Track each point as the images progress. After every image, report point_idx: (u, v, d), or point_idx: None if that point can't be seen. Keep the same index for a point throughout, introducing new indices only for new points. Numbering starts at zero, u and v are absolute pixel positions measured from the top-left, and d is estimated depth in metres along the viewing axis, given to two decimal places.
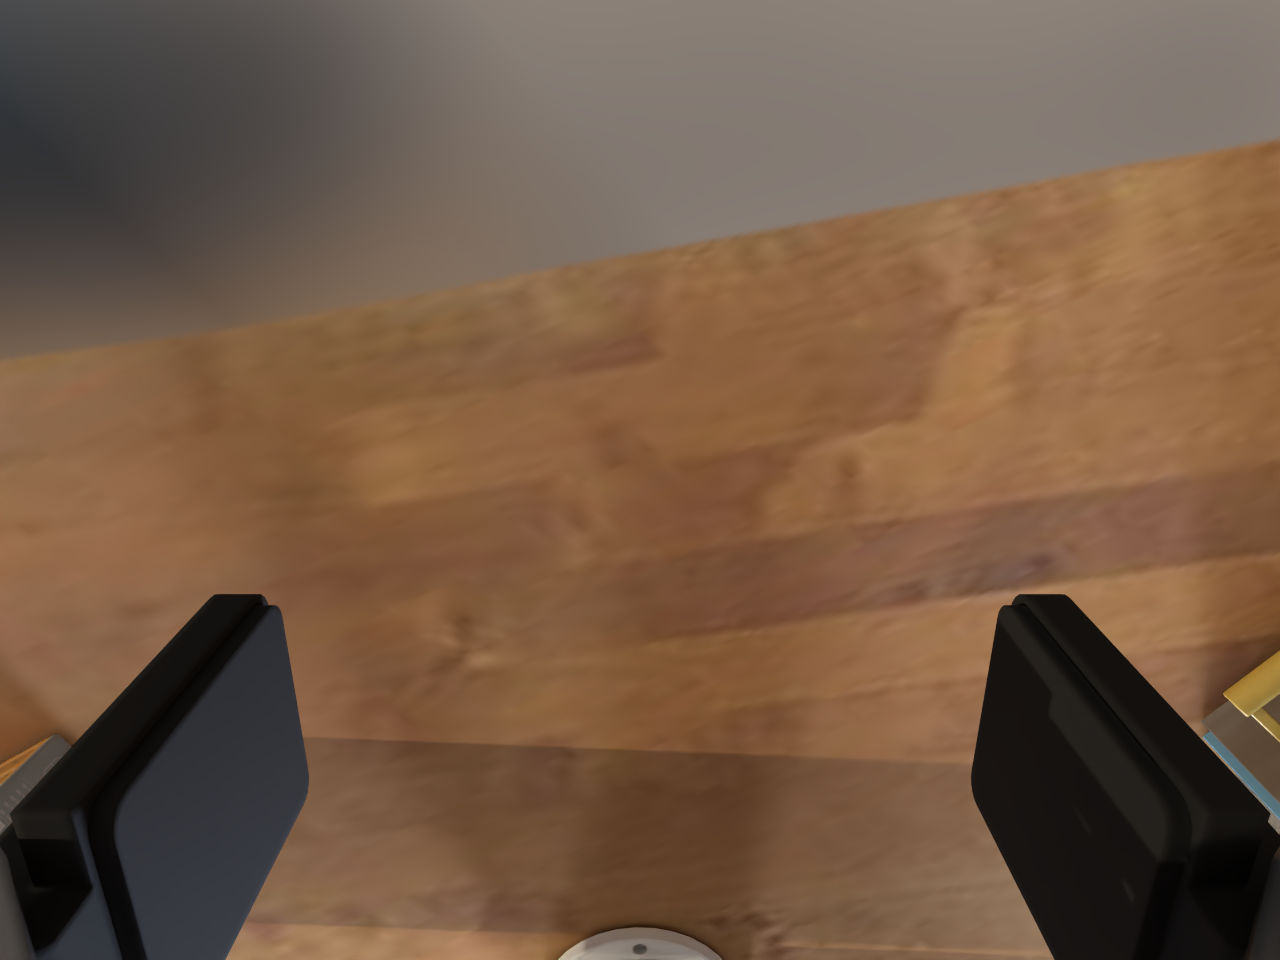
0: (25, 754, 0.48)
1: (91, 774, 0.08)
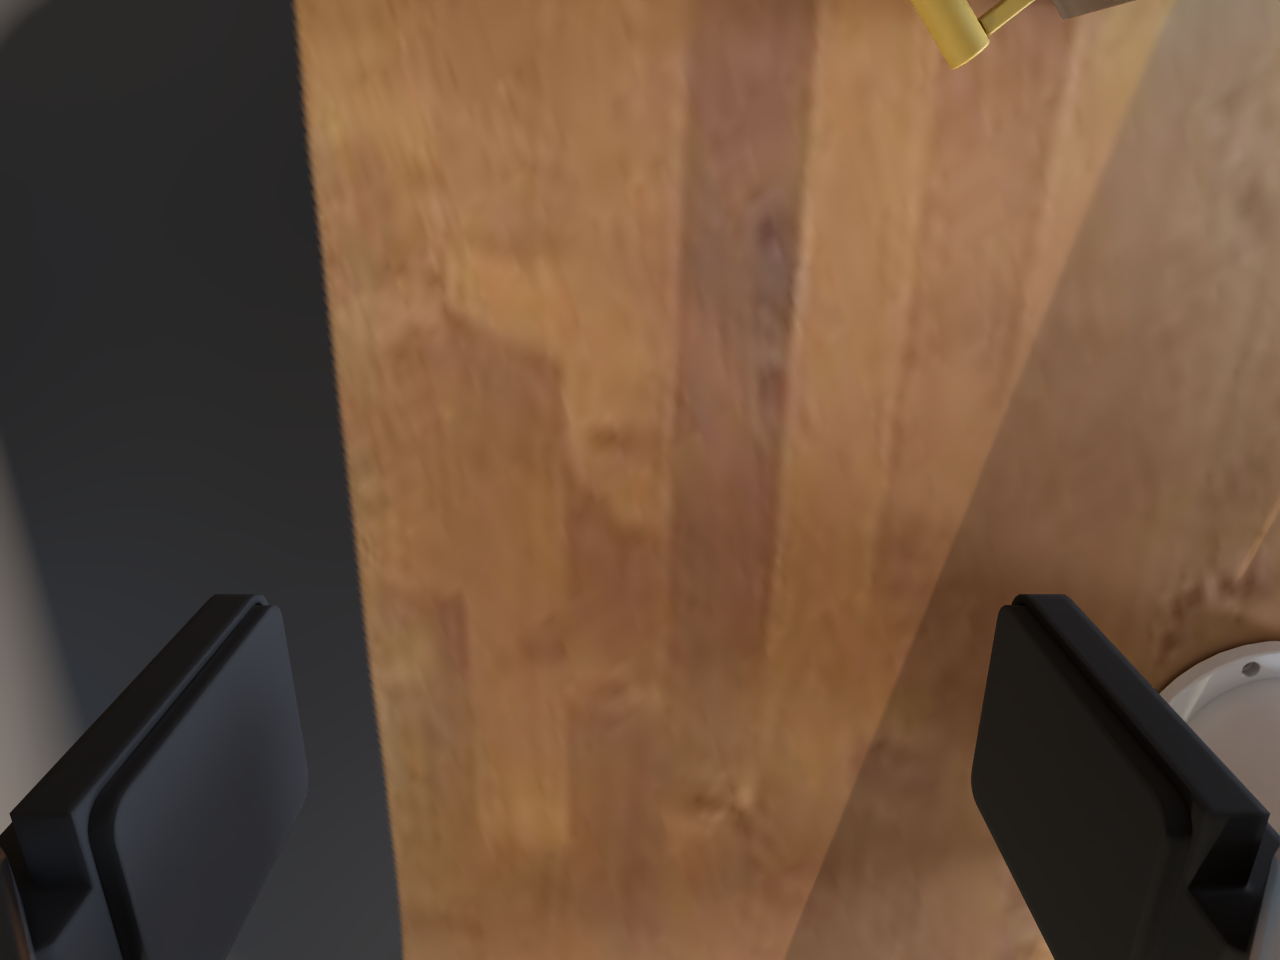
0: None
1: (92, 775, 0.08)
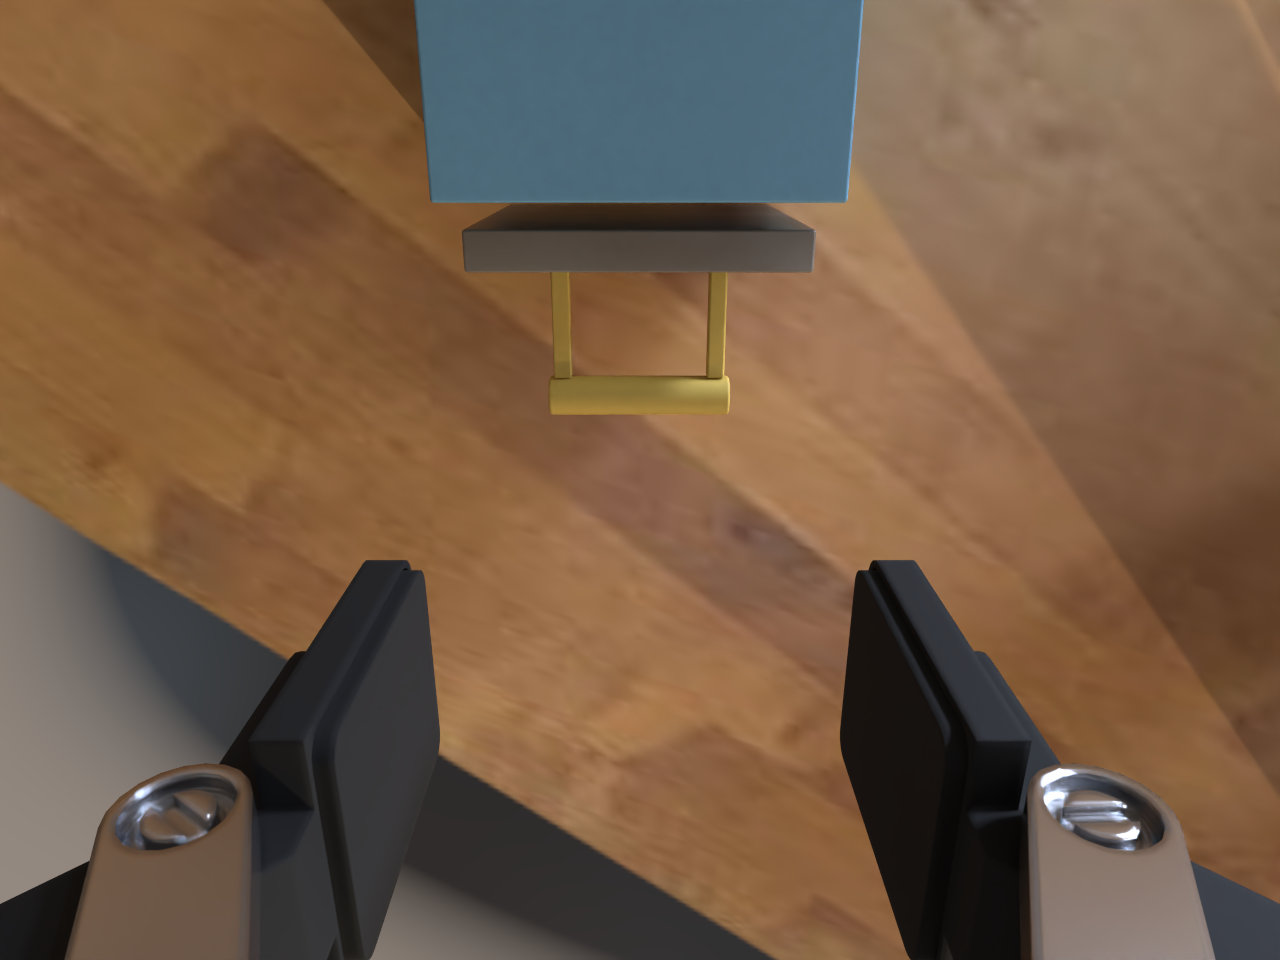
0: None
1: (309, 710, 0.09)
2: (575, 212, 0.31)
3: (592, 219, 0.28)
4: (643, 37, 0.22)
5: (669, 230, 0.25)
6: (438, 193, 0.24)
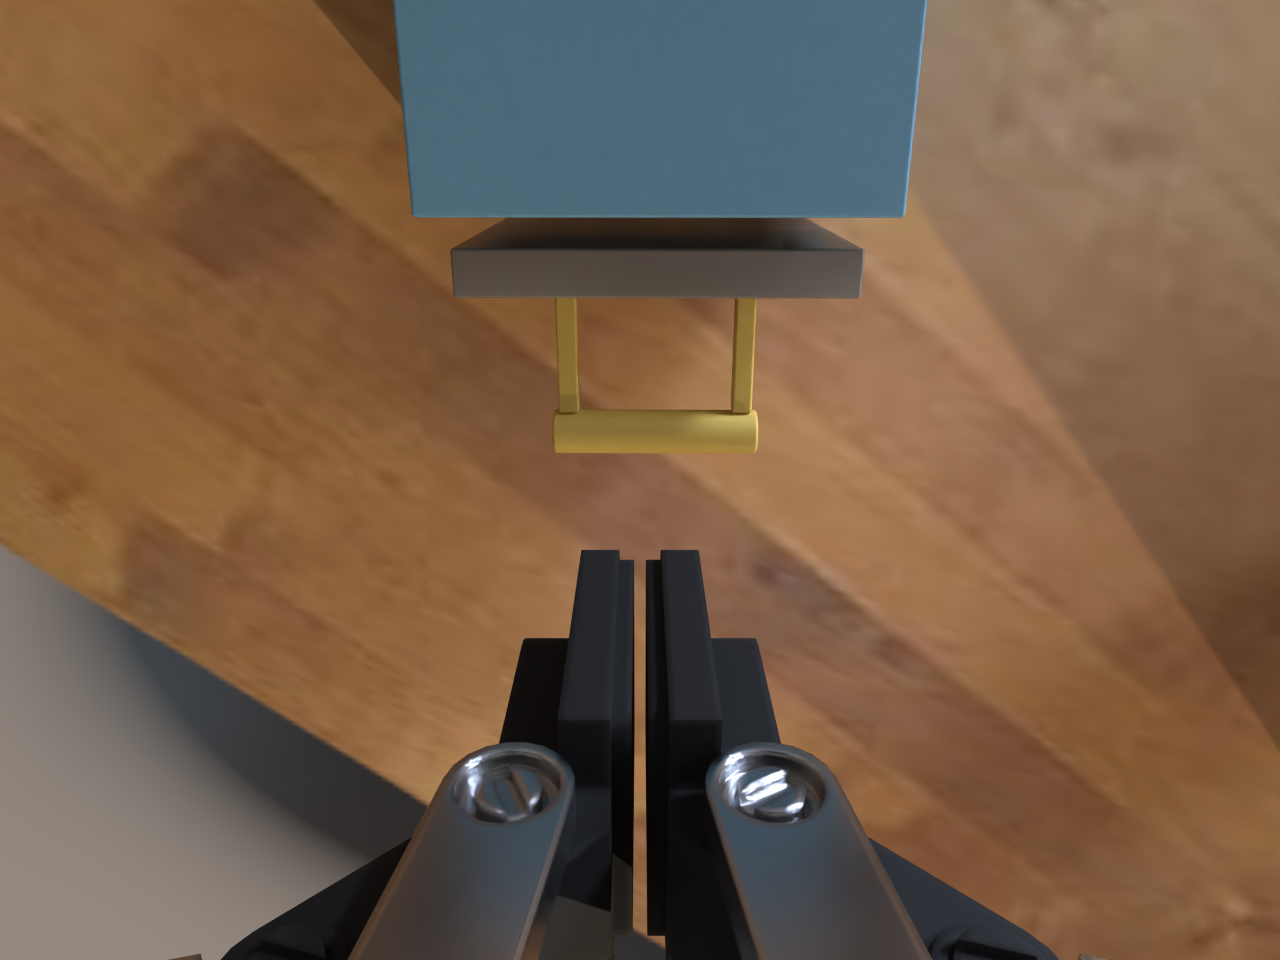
0: None
1: (601, 691, 0.09)
2: (583, 225, 0.27)
3: (602, 234, 0.24)
4: (664, 21, 0.19)
5: (693, 249, 0.21)
6: (421, 206, 0.20)
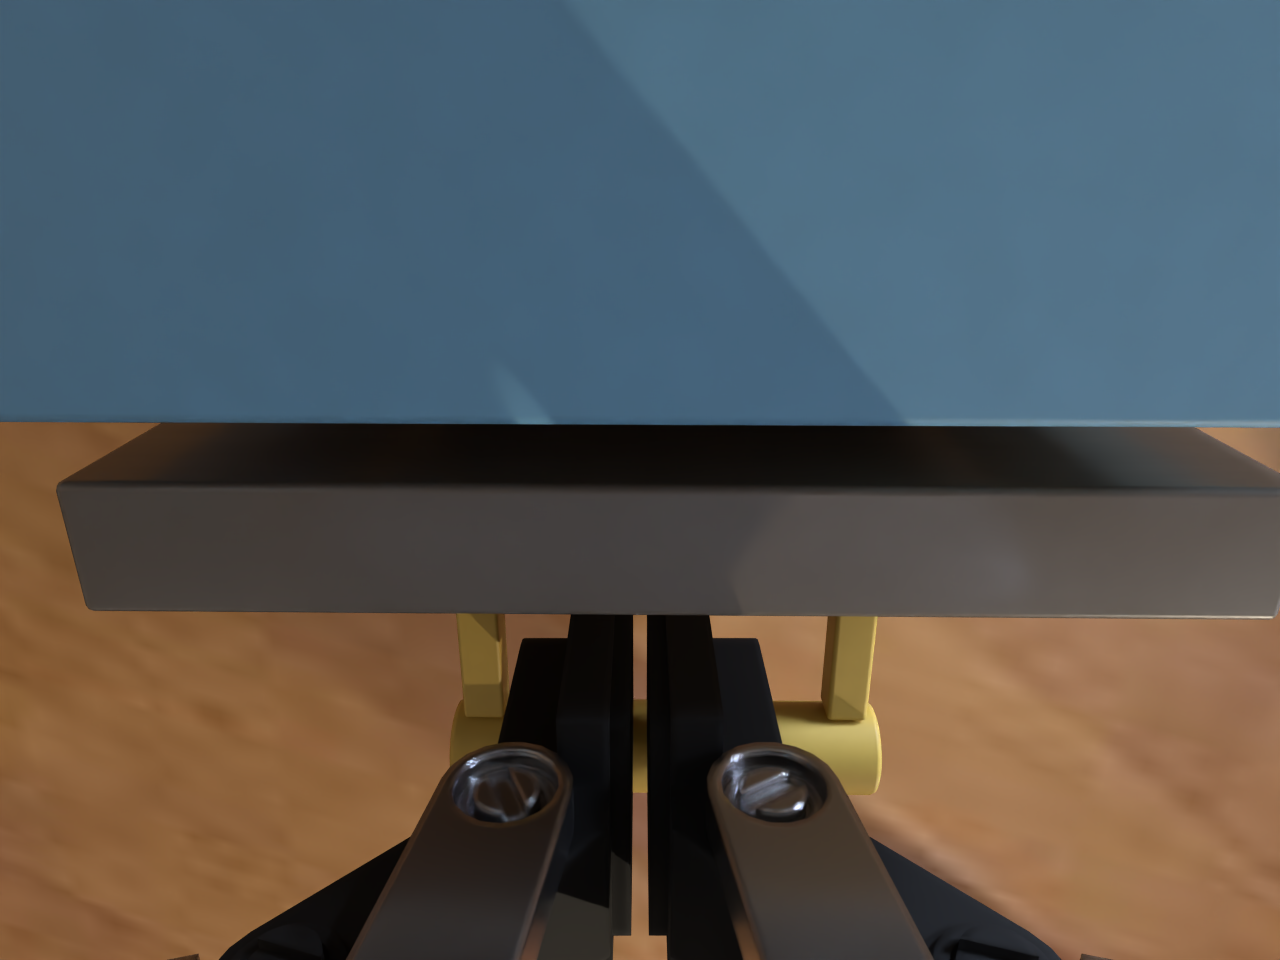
0: None
1: (599, 690, 0.09)
2: None
3: None
4: None
5: (786, 487, 0.07)
6: None
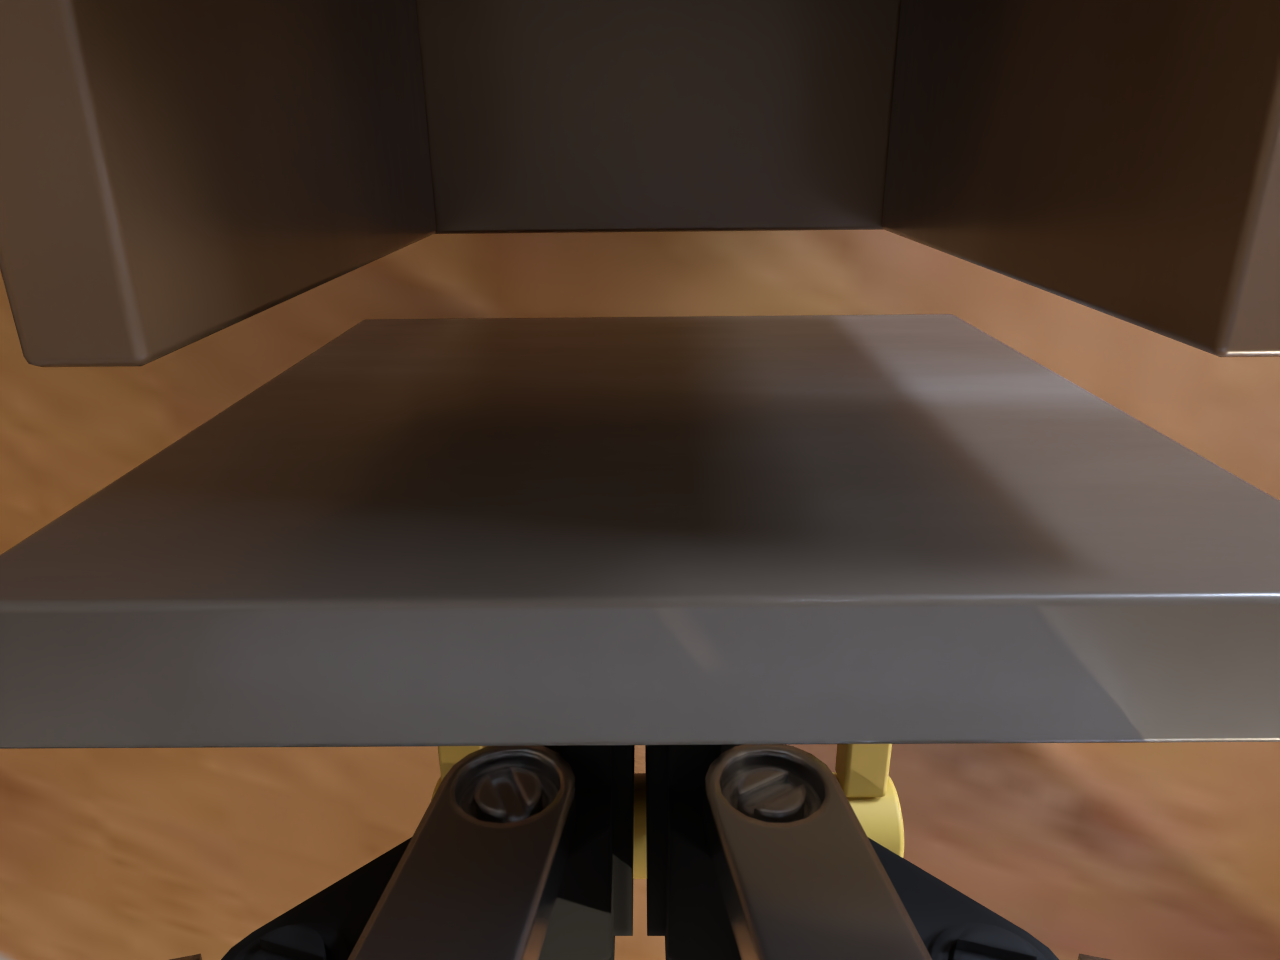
0: None
1: None
2: (491, 373, 0.11)
3: (519, 441, 0.09)
4: None
5: (810, 597, 0.06)
6: None
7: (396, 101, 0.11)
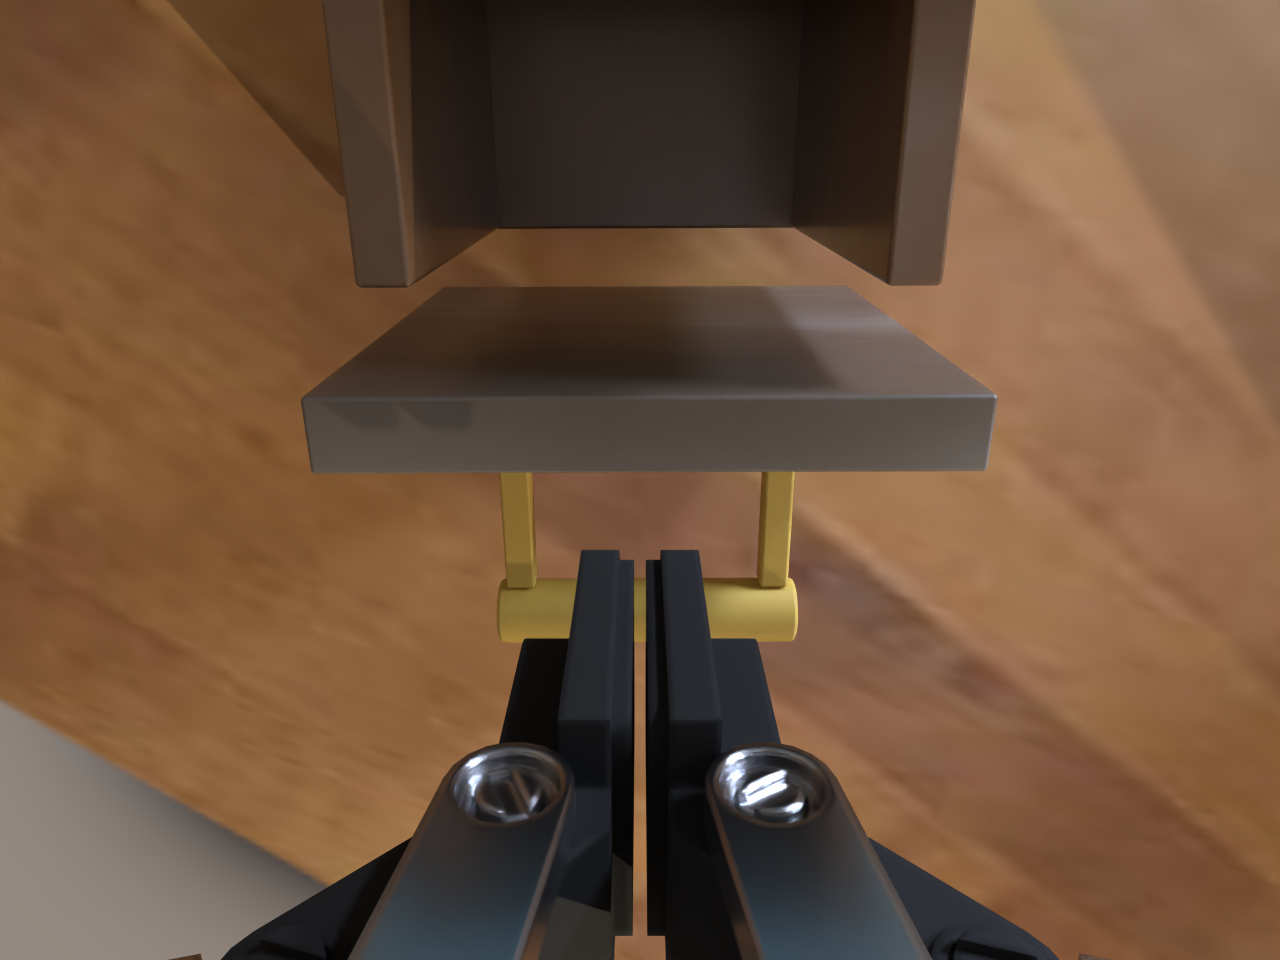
0: None
1: (601, 691, 0.09)
2: (539, 316, 0.18)
3: (564, 345, 0.16)
4: None
5: (709, 396, 0.13)
6: None
7: (482, 146, 0.18)
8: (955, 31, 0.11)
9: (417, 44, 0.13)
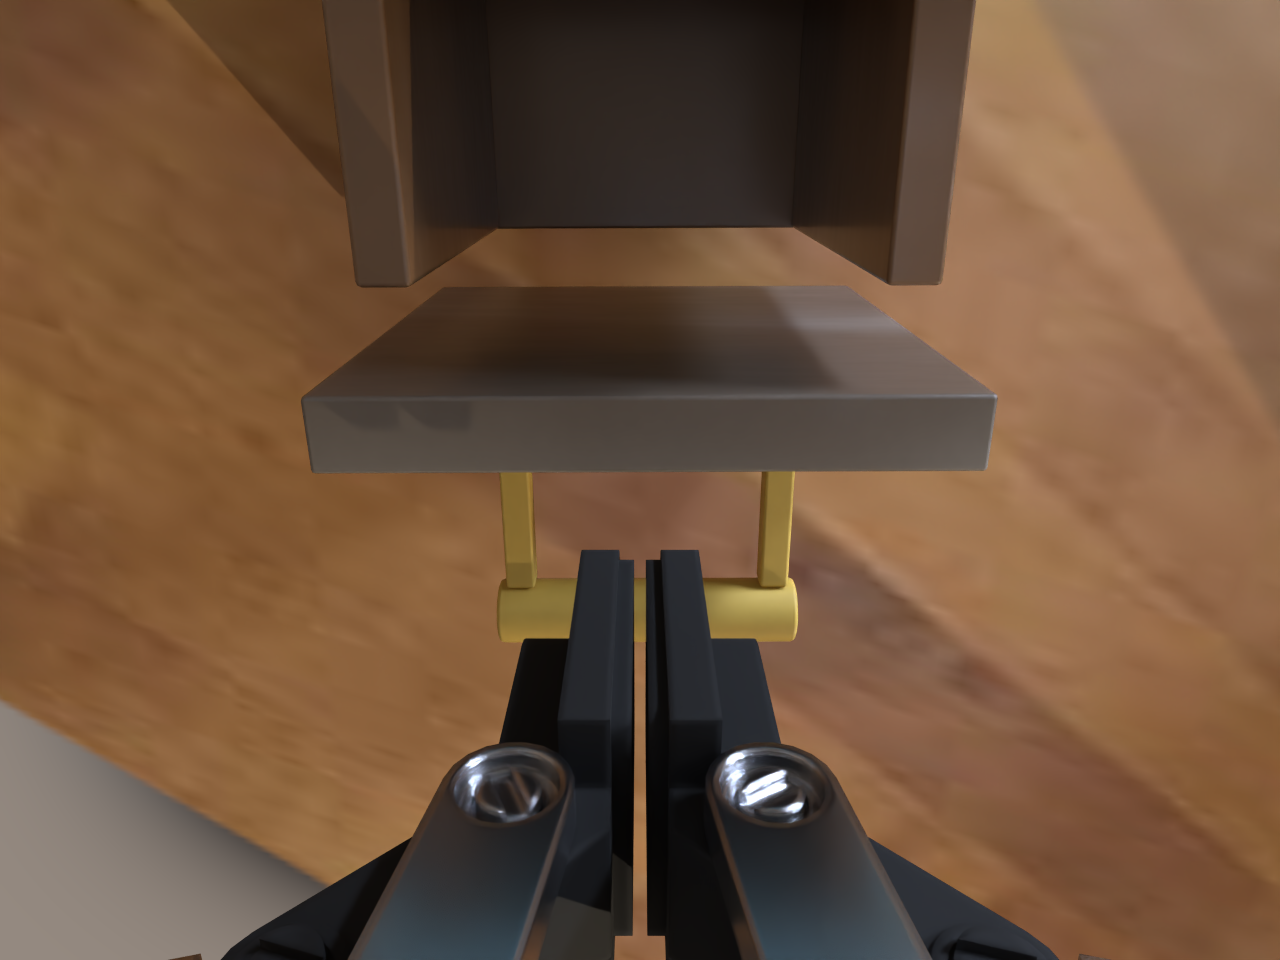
0: None
1: (601, 691, 0.09)
2: (539, 316, 0.18)
3: (564, 345, 0.16)
4: None
5: (709, 396, 0.13)
6: None
7: (482, 146, 0.18)
8: (955, 31, 0.11)
9: (417, 44, 0.13)
